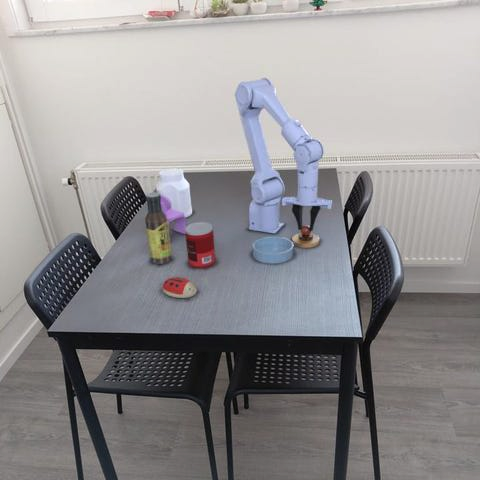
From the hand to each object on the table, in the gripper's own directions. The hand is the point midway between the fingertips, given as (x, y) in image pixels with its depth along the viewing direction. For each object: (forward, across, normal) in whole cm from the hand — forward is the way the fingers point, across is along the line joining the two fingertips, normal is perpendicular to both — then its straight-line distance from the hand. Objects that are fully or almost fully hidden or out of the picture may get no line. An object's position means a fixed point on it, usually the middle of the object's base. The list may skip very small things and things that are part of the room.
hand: (306, 229), depth 146 cm
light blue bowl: (+4, +8, +10) cm, 14 cm away
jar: (+4, +50, -13) cm, 52 cm away
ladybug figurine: (+4, +26, +38) cm, 46 cm away
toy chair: (+4, +43, +5) cm, 44 cm away
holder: (+4, 0, 0) cm, 4 cm away
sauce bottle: (+4, +38, +22) cm, 44 cm away
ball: (0, 0, 0) cm, 0 cm away
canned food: (+4, +26, +20) cm, 34 cm away
